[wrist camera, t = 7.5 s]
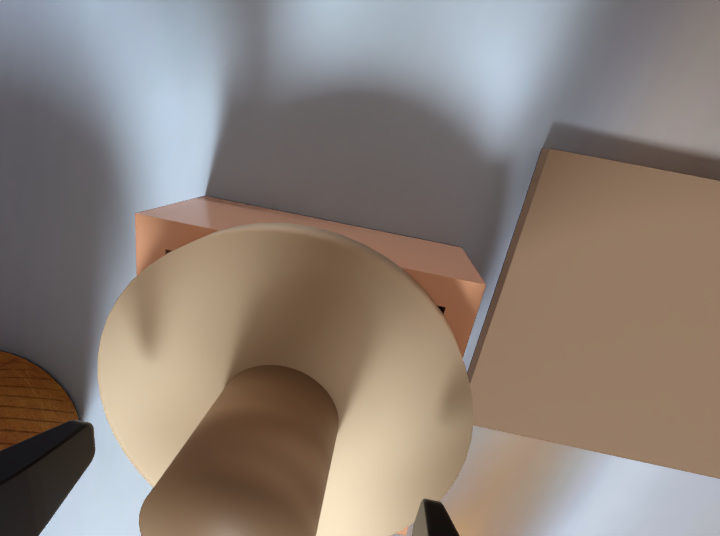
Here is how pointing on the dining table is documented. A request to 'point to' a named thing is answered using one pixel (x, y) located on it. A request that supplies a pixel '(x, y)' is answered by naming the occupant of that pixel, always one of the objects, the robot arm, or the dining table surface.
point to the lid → (283, 387)
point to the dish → (416, 256)
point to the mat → (608, 315)
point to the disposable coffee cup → (29, 401)
